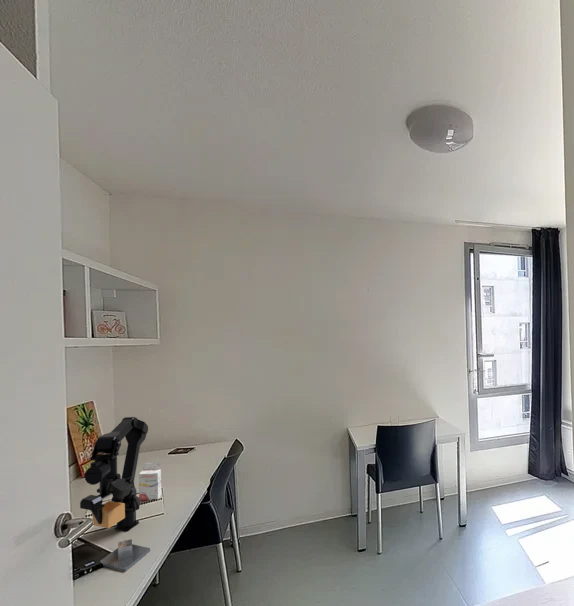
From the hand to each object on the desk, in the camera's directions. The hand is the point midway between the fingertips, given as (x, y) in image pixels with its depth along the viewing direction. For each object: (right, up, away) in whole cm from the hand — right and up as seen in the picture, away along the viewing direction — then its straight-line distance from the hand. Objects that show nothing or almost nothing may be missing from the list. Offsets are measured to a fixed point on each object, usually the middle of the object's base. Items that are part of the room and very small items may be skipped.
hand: (109, 518), depth 131 cm
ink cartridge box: (+1, -12, +37) cm, 39 cm away
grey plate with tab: (+9, -9, -7) cm, 14 cm away
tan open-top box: (-1, -1, 0) cm, 2 cm away
